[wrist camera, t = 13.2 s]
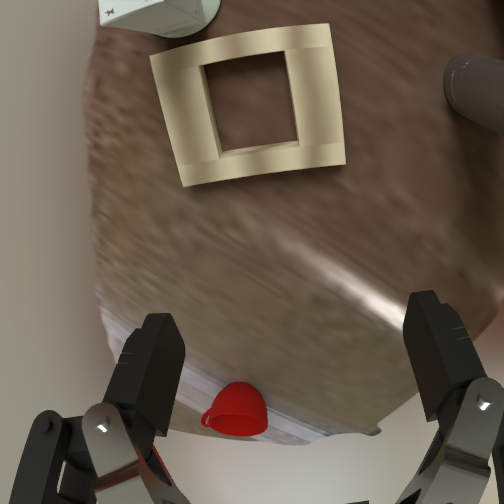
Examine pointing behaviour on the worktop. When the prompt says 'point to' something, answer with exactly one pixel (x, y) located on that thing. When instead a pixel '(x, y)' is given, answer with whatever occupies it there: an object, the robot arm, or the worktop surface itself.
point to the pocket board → (203, 119)
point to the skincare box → (152, 15)
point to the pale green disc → (210, 10)
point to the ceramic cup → (237, 411)
